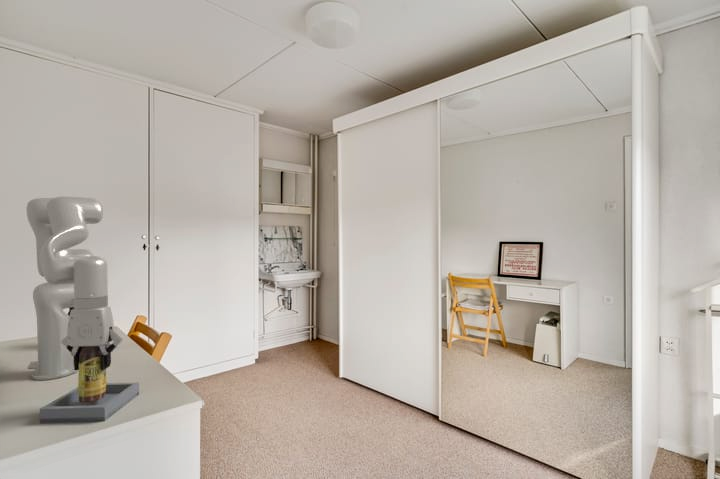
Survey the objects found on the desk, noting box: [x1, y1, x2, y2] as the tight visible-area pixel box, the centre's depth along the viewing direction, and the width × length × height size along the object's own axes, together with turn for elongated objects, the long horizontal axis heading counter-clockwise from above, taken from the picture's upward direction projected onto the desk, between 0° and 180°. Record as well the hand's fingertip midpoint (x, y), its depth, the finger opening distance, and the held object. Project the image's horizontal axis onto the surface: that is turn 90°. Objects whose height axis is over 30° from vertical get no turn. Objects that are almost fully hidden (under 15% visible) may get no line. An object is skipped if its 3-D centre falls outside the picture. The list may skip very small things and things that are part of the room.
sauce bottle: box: [77, 346, 107, 403], centre depth 103 cm, size 6×6×20 cm
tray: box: [39, 381, 140, 424], centre depth 103 cm, size 16×16×4 cm
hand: (92, 367), depth 103 cm, fingers closed on sauce bottle, 6 cm apart
